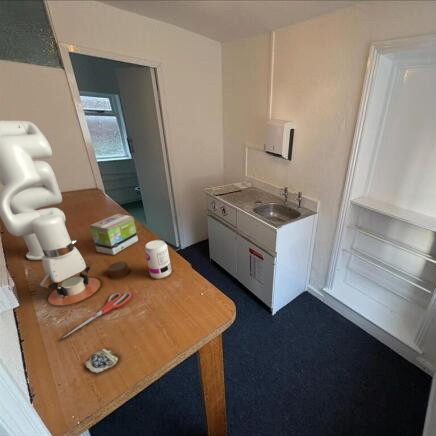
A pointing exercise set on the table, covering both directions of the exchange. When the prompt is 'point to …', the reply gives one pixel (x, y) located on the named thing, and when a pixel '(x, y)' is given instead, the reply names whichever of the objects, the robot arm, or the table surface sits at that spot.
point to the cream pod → (73, 285)
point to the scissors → (107, 307)
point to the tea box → (114, 233)
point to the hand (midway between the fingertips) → (74, 288)
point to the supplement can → (158, 259)
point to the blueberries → (101, 361)
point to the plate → (65, 300)
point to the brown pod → (118, 269)
